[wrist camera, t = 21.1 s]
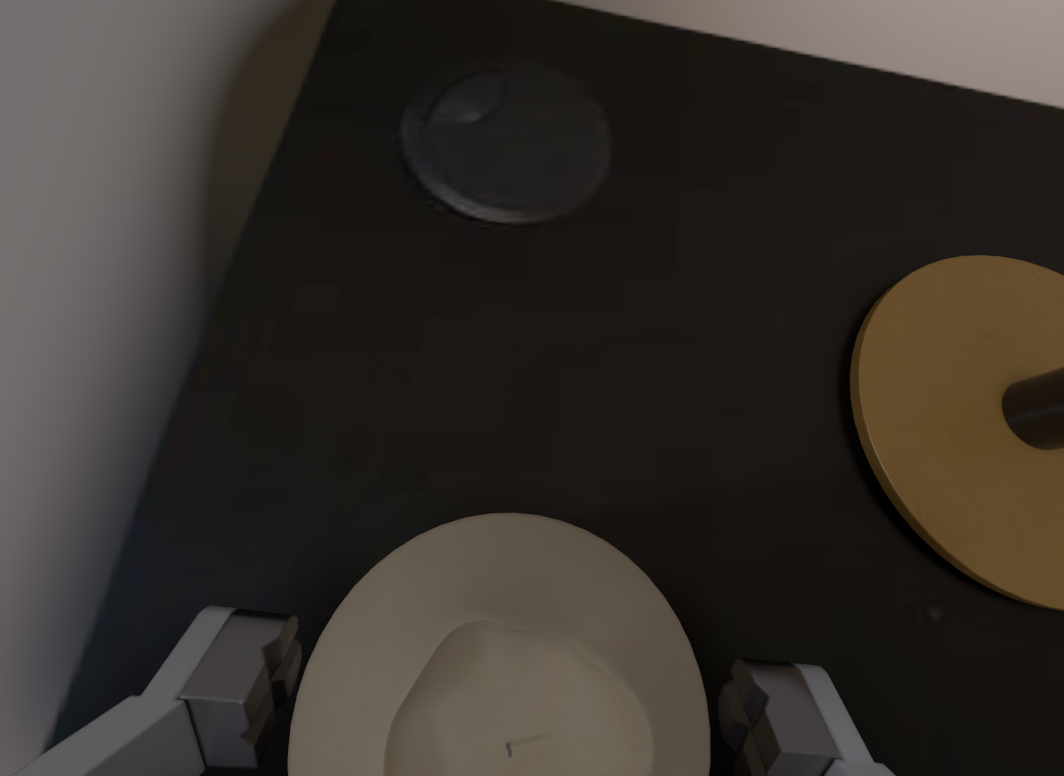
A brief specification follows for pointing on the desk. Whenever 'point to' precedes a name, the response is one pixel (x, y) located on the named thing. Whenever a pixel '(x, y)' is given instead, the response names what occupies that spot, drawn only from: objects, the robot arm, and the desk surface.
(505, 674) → the candle
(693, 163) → the desk surface
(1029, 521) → the tin lid
